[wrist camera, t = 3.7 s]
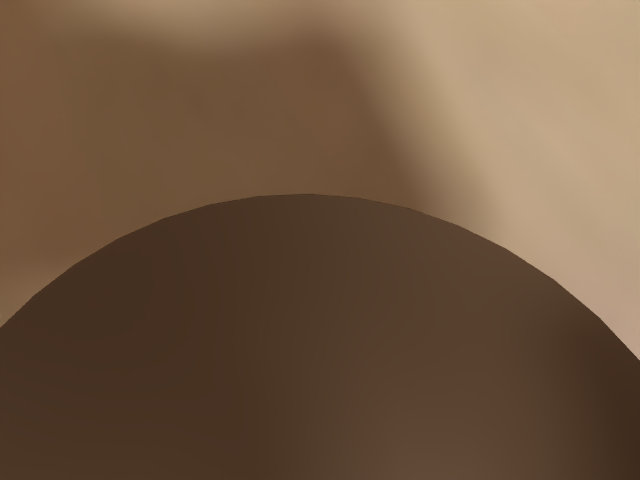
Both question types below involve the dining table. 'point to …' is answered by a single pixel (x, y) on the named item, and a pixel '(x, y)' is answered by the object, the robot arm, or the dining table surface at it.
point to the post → (312, 356)
